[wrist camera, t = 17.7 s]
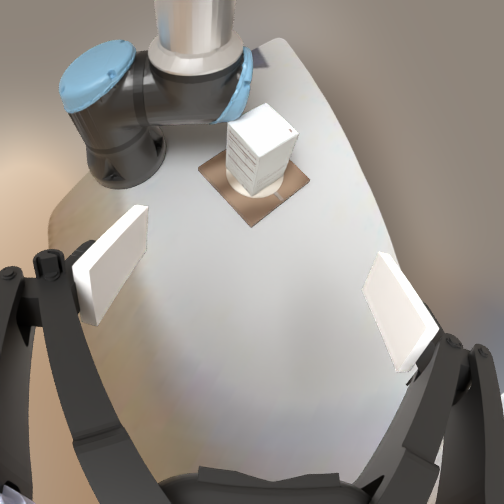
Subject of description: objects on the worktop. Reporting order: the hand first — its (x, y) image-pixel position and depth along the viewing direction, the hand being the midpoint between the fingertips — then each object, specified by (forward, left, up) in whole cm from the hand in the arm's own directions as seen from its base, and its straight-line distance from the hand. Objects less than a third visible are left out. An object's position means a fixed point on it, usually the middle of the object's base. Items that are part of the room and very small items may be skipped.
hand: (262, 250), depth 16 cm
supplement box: (-15, +17, -29) cm, 37 cm away
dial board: (-15, +17, -30) cm, 38 cm away
